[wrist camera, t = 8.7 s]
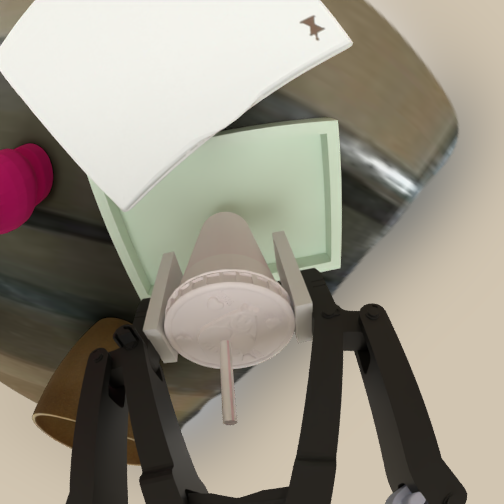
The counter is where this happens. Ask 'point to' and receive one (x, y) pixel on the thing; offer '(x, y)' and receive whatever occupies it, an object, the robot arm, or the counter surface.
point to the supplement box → (156, 75)
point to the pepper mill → (22, 183)
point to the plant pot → (77, 388)
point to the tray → (239, 198)
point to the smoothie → (228, 305)
